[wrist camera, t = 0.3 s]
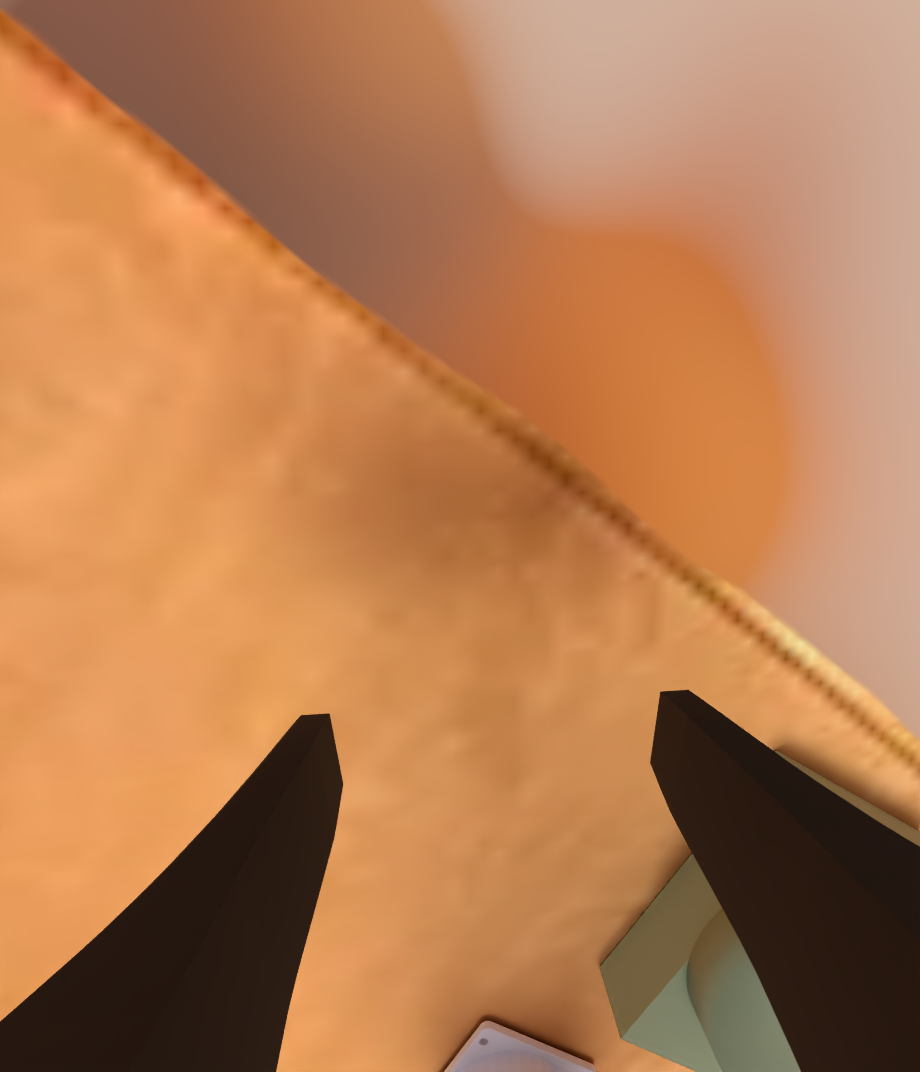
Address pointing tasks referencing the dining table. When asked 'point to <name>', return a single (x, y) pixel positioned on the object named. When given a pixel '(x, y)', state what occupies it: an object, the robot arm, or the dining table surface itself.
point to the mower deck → (703, 975)
